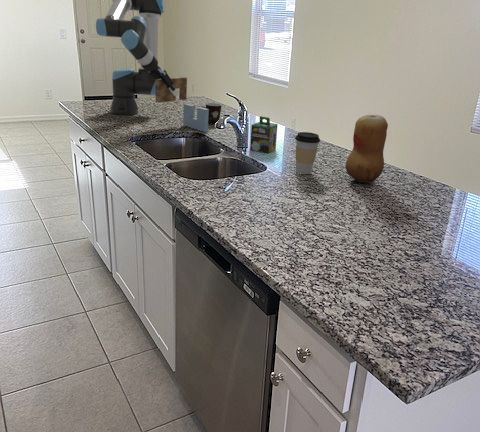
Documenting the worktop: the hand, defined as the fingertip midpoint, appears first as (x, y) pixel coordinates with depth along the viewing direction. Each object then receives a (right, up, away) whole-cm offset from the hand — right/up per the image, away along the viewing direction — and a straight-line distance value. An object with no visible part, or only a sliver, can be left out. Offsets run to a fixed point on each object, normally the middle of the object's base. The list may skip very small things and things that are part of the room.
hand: (174, 93), depth 234 cm
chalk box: (+43, -33, -28) cm, 61 cm away
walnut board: (-2, -4, 0) cm, 4 cm away
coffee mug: (+17, -12, +15) cm, 26 cm away
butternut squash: (+79, -49, -60) cm, 111 cm away
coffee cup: (+58, -45, -55) cm, 92 cm away
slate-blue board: (+11, -18, +1) cm, 20 cm away
